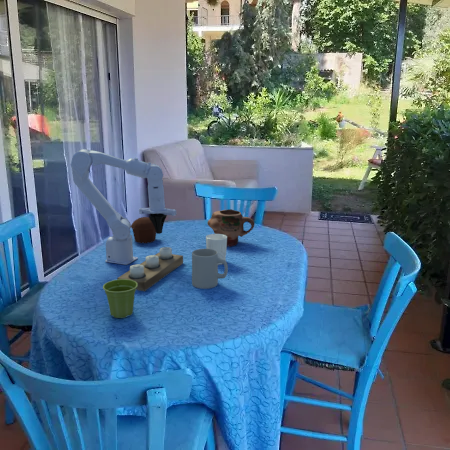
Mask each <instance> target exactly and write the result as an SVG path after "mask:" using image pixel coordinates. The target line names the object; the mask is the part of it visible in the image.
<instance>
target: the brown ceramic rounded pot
mask: <svg viewBox="0 0 450 450" xmlns="http://www.w3.org/2000/svg"><path fill="white" fill-rule="evenodd" d="M245 223H249V224H250V228H249V229H248V230H245V229H244V226H245V225H244V224H245ZM255 225H256V224H255V222H254V219H252V218H251V217H248V216H243V214H242V212H240V211H238V210H235V209H231V208H230V209H222V210H216V211H214V212H213V213H212V215H211V217H210V219H208V220H207V226H208V227H209V228H211V230H212V231H213V234H223V235H226V236H227V247H234V246H237V245H238V243H239V237H240V238H242V237H244V236H245V235H248V234H250V232H251V231H253V229H254V227H255Z"/></svg>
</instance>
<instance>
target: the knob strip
mask: <svg viewBox="0 0 450 450" xmlns="http://www.w3.org/2000/svg"><path fill="white" fill-rule="evenodd" d="M155 255H156V256H158V257H159V266H158V267H155V268H149V267H146V260H144V261H143V262H141V263H140V265H143V266H144V276H143V277H140V278H133V277H131V276H130V269H129V270H128V271H126V272H125V273H123V274H122V275H120V276H119V277H116V278H117V279H116V280H118V279H128V280H133V281H135V282H137V284H138V286H137V288H136V291H141V292H146V291H147V290H148V289H150V288H151V287H153V286H154V285H155V284H158V282H160V281H161V280H162V279H163V278H165V277H166V276H168V275H169V274H171V273H172V272H173V271H174V270H176V269H178V268H179V267H180V266H182V265H183V264H184V255H182V254H181V255H179V254H174V253H172V257H171V258H168V259H163V258H160V251H159V252H157V253H156V254H155Z"/></svg>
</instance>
